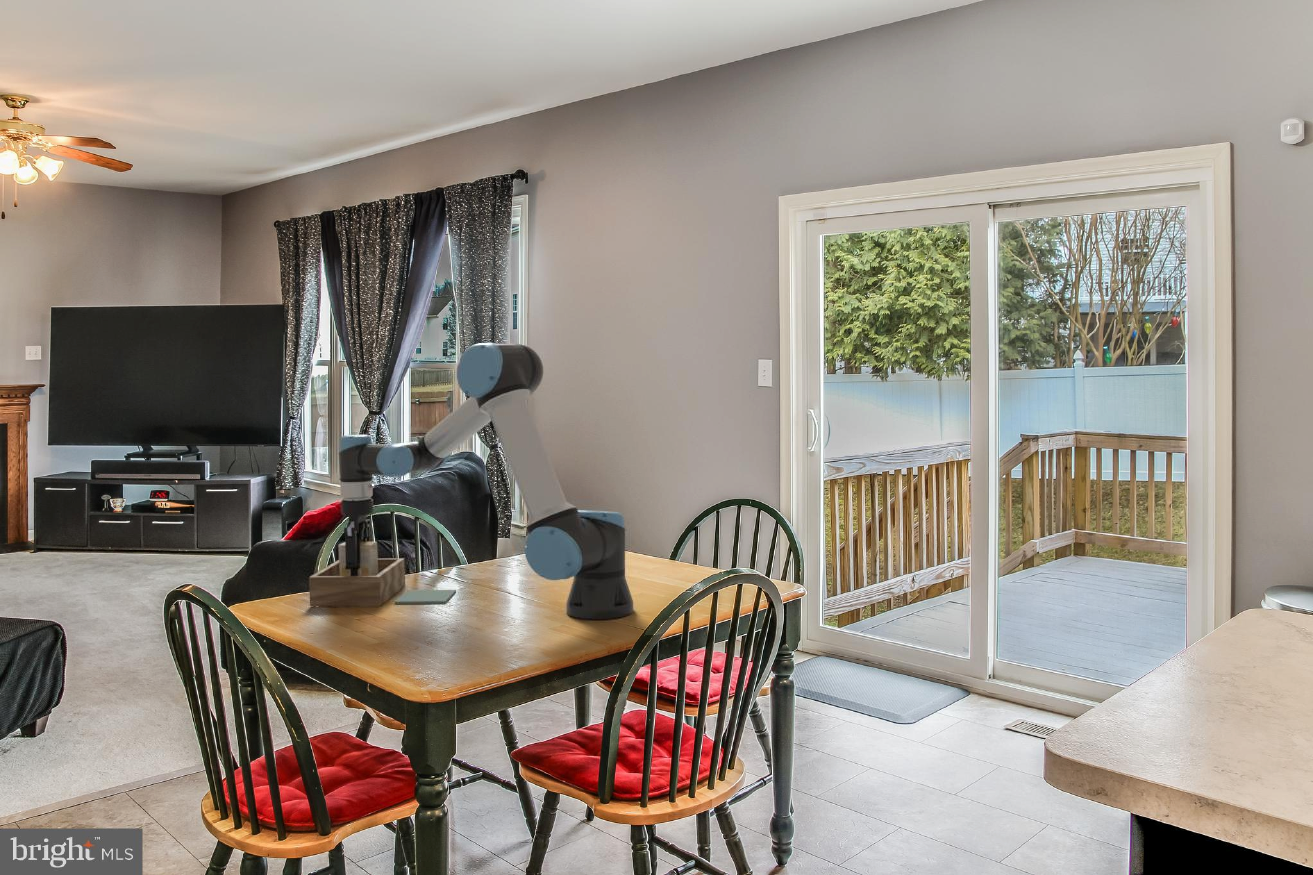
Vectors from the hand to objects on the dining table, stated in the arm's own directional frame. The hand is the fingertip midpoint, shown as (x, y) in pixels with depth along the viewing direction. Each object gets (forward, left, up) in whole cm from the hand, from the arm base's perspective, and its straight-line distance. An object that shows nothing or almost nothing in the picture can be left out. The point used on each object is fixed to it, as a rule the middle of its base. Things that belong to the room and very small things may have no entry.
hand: (359, 592), depth 237 cm
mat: (-3, -17, -1) cm, 17 cm away
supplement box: (0, 0, -1) cm, 1 cm away
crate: (0, 0, -1) cm, 1 cm away
